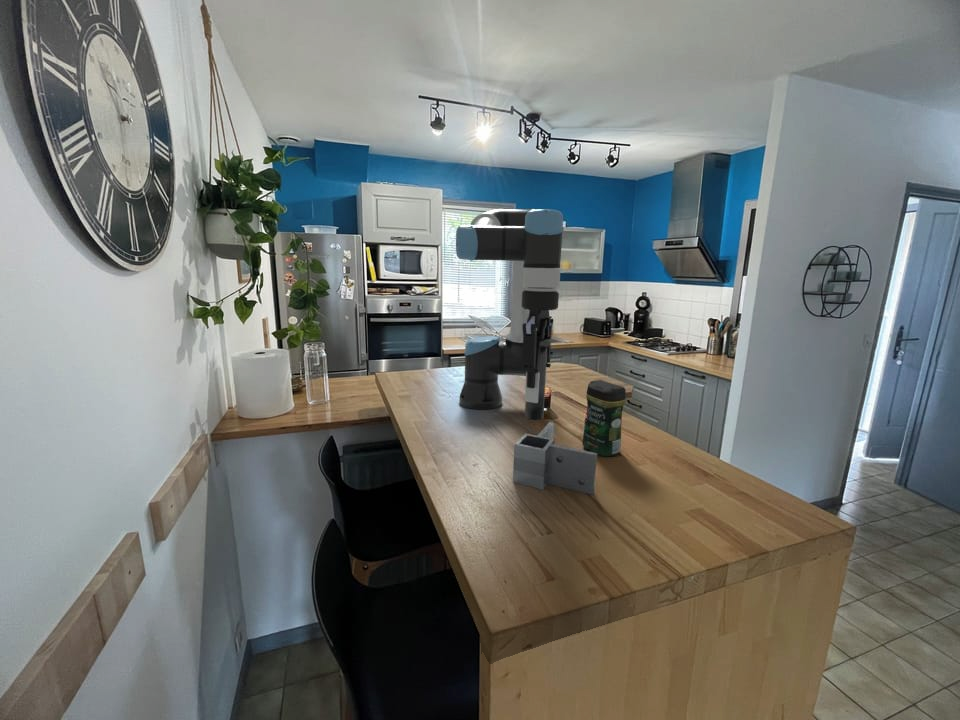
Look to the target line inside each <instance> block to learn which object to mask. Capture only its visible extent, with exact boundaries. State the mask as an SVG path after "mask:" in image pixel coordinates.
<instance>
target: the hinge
mask: <svg viewBox="0 0 960 720" xmlns="http://www.w3.org/2000/svg"><path fill="white" fill-rule="evenodd" d="M554 430H555V422H553V421H552V422H551V421H549V422H548V423H547V424H546V426H544V428H543V429H542V430H541V431H540V432H539V433H537V435H534V434H530V433H524V434H523V435H521V437H520V438H519V439H518V440H517V441H516V442H515V443H514V446H513V447H514V450H513V467H512V468H513V469H512V470H513V471H512V483H516V484H519V485H522V486H523V485H524V486H527V487H531V488H535V489H539V490H543V491H544V489H545V488H546V486H548V485H551V486H555V487H560V488H563V489H568V490H571V491H572V490H573V491H576V492H579V493H582V494H583V493H584V494H587V495H592V496H593V495H594V492H595V484H596V471H597V460H598V454H597V453H594V452H592V451H590V450H583V449H578V448H573V447H568V446H563V445H558V444H555V438H554V434H555V433H554V432H555V431H554Z"/></svg>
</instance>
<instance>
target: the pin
mask: <svg viewBox="0 0 960 720" xmlns="http://www.w3.org/2000/svg"><path fill="white" fill-rule="evenodd" d="M536 343H537V342H536ZM550 346H551V347H552V338H551V339H548V338H547V339H543V340H542V341H540V347H541V349H540V358H539V366H538V372H540V376H539V395H538V403H532V402H526V401H525V406H524V407H525V408H524V417H525V419H527V420H531V421H541V420H543V419H544V411H545V410H544V408H545V397H544V395H545V396H546V384H545V377H546V378H547V367H546V359H547V347H550Z"/></svg>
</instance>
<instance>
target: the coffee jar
mask: <svg viewBox="0 0 960 720" xmlns="http://www.w3.org/2000/svg"><path fill="white" fill-rule="evenodd" d="M626 393H627V392H626V388H625V387H624V386H622V385H617V384H615V383H612V382H608V381H605V380H604V379H603V380H602V379H598V380H597V379H596V380H590V381H589V382H588V385H587V389H586V393H585V396H586V397H585V398H586V403H587V404H586V405H587V408H586V416H585V423H584V429H583V435H582V440H581V441H582V447H584V449H587V451H589V452H594V453H597V456H598V455H599V456H601V457H613V456H616V455H617V454H619V453H620V452H621V450H622V449H621V447H622V418H623V408H624V406H625V404H626V400H627V395H626Z"/></svg>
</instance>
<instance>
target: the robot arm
mask: <svg viewBox="0 0 960 720" xmlns="http://www.w3.org/2000/svg"><path fill="white" fill-rule="evenodd" d="M563 231H564V214H563V213H562V212H561V211H560V210H558V209H557V210H556V209H534V208H531V209H527V208H526V209H525V208H523V209H517V208H516V209H515V208H514V209H513V208H511V209H509V208H508V209H507V208H506V209H504V208H497V209H491V210H488V211H485V212H481V213H480V214H478V215H476V216H475V217H474V218H473V219H472V220H471V222H470V224H468V225H459V226H457V228H456V233H455V254H456V257H457V259H459V260H464V261H466V260H467V261H471V262H472V261H506V262H507V261H508V262H512V282H511V283H512V285H511V286H512V287H511V305H510V306H511V309H510V310H511V311H510V331H509V332H508V333H507V334H506V335H505V340H504V341H503V340H501V339H500V338H499V336H497V335H495V336H493V335H489V336H488V335H486V336H479V337H474V338H471V339H469V340H468V341H466V343H465V346H464V347H465V349H464V381H463V385H462V388H461V391H460V394H459V397H458V398H459V405H461V406H462V407H465V408H466V409H467V408H468V409H473V410H490V409H496V408H499V407H500V406H502V404H503V395H502V391H501V389H500V385H499V382H498V381H499V376H500V375H501V376H524V377H525V388H524V389H525V390H524V391H525V392H524V402H525V403H526V402H532V403H538V395H539V376H540V372H538V366H539V358H540V349H541V347H540V341H542V340H543V339H547V338H548V339H551V340H552V337H553V336H552V335H553V324H554V318H550V311H556V310H558V308H559V300H560V299H559V298H560V297H559V296H560V293H559V292H558V291H557V289H559V288H560V285H561V283H560V282H561V261H562V259H561V258H562V248H563V247H562V243H563ZM536 342H537V343H536ZM551 348H552V345H551V346H550V347H547V359H546V368H551V365H552V364H551V363H550V362H551V351H552V350H551ZM546 380H547V376H546V377H545V385H546V383H547V382H546ZM545 396H546V394H545V395H544V398H545Z"/></svg>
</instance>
